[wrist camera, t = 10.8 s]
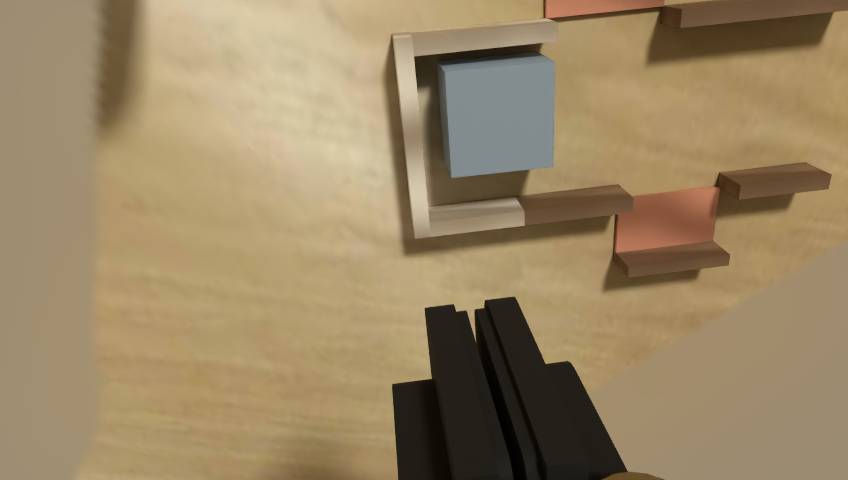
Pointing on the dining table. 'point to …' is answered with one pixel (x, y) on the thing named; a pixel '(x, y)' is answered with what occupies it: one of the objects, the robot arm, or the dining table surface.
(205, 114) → the dining table surface
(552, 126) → the slate block
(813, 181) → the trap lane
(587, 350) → the dining table surface
